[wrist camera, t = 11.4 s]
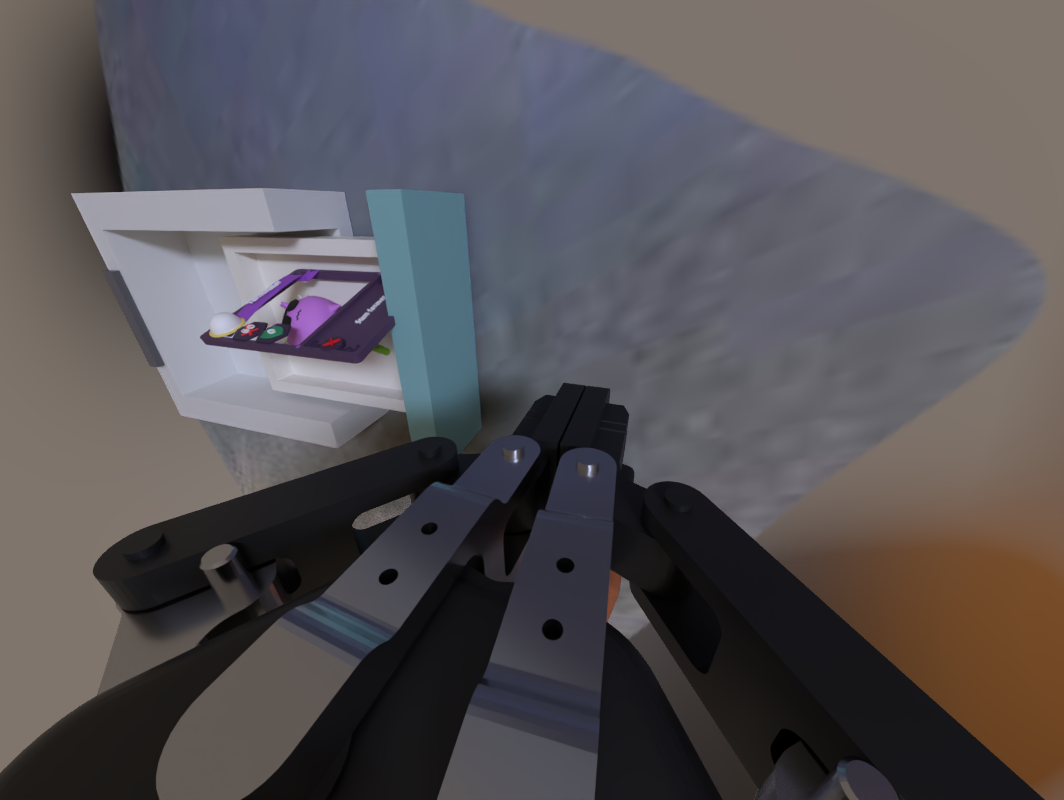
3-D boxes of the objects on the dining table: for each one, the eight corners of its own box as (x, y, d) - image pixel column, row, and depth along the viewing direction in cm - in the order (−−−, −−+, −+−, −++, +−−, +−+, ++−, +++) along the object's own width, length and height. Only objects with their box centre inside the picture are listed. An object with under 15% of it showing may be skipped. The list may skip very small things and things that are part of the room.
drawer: (482, 427, 25) (441, 475, 20) (312, 399, 29) (248, 433, 24) (463, 193, 19) (400, 189, 14) (251, 197, 23) (149, 195, 18)
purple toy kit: (346, 342, 14) (184, 324, 17) (396, 428, 18) (257, 403, 21) (428, 260, 19) (289, 256, 21) (455, 344, 22) (334, 331, 25)
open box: (389, 411, 27) (333, 452, 23) (246, 387, 31) (174, 417, 27) (344, 192, 21) (254, 187, 16) (172, 195, 25) (60, 193, 20)
